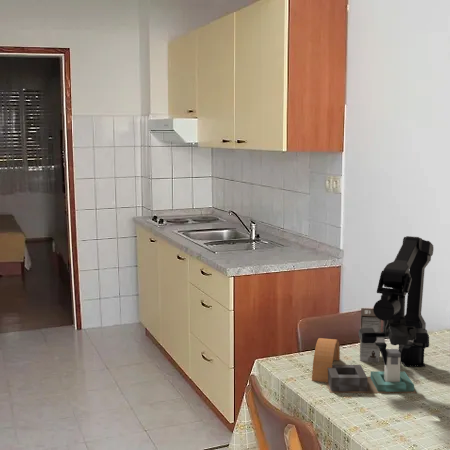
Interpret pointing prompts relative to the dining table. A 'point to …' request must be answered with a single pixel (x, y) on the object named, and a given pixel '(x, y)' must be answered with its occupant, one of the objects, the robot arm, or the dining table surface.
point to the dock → (364, 381)
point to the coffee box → (369, 349)
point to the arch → (324, 358)
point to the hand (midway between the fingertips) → (392, 364)
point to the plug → (392, 366)
